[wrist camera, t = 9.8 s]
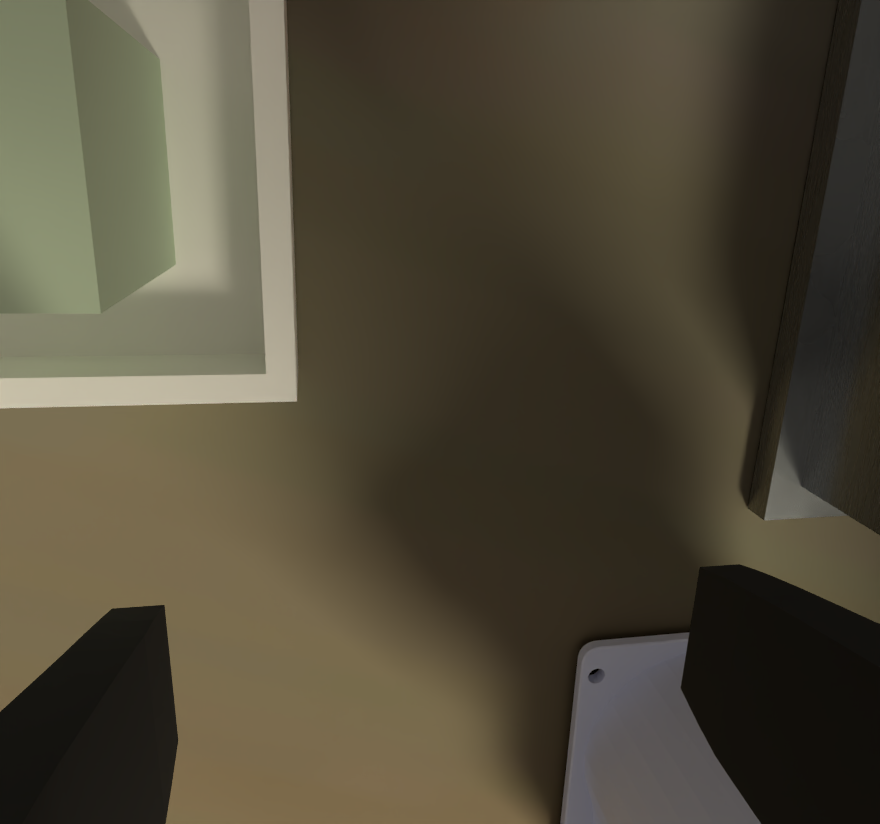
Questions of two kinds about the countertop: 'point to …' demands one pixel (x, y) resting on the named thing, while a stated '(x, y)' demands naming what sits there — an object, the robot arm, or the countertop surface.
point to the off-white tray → (192, 233)
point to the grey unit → (832, 305)
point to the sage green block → (79, 161)
